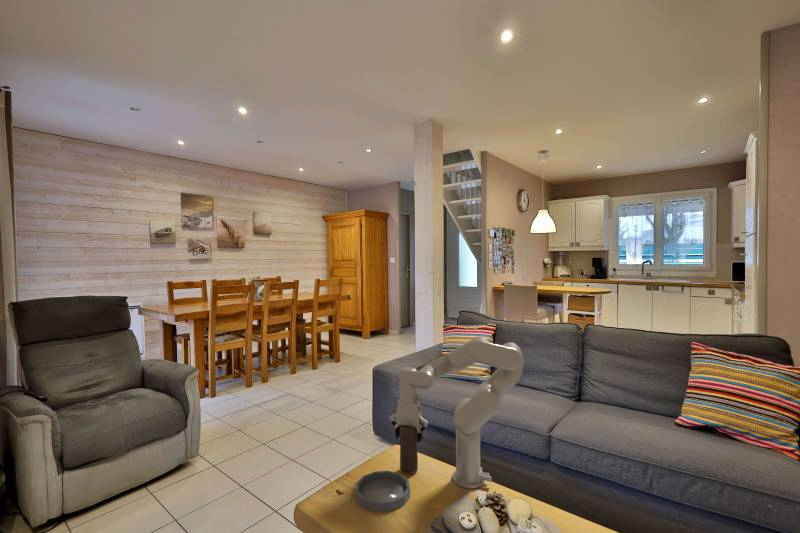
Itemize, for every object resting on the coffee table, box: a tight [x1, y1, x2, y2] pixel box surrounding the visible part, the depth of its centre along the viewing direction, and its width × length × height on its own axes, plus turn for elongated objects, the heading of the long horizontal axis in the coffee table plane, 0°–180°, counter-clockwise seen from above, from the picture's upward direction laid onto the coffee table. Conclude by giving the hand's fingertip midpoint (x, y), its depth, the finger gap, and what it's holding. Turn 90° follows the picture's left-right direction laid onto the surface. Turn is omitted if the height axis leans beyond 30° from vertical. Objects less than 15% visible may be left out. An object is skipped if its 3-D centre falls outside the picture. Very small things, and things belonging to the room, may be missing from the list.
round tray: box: [355, 470, 411, 513], centre depth 135 cm, size 20×20×3 cm
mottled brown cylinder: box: [399, 425, 419, 474], centre depth 150 cm, size 8×7×20 cm
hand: (408, 439), depth 150 cm, fingers open, 9 cm apart
